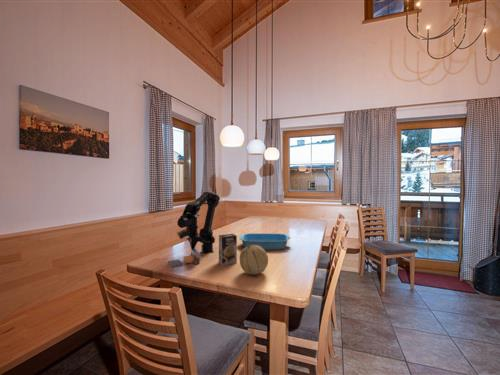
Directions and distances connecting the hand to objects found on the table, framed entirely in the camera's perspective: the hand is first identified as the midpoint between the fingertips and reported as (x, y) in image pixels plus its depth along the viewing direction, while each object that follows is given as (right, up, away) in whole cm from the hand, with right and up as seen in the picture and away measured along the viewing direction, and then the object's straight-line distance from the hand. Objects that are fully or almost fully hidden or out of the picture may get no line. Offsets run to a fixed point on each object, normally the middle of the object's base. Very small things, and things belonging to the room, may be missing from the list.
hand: (192, 250), depth 141 cm
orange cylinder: (+1, -6, -4) cm, 7 cm away
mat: (-8, -6, -7) cm, 12 cm away
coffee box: (+22, -6, -5) cm, 23 cm away
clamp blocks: (+2, -6, -3) cm, 7 cm away
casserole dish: (+45, -5, +29) cm, 54 cm away
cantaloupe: (+37, -6, -21) cm, 43 cm away
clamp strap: (+3, -1, -5) cm, 6 cm away
